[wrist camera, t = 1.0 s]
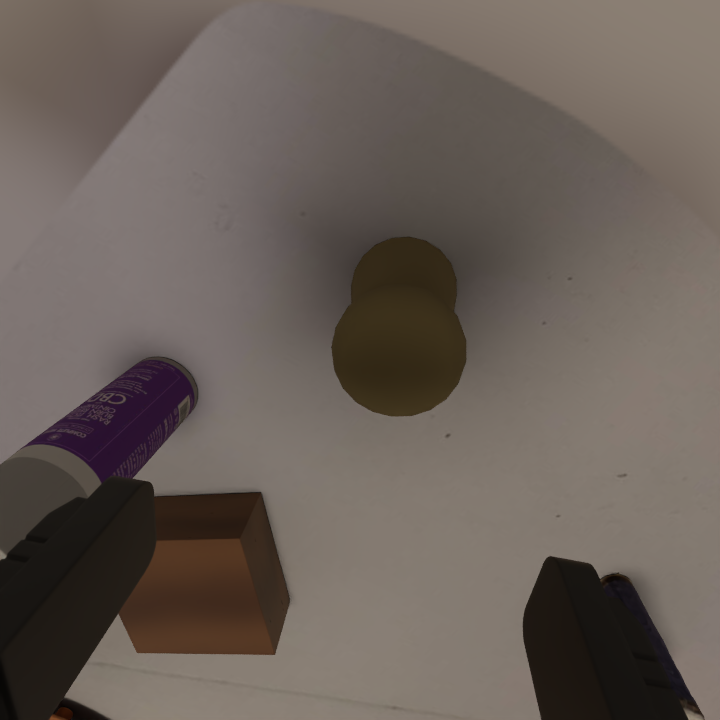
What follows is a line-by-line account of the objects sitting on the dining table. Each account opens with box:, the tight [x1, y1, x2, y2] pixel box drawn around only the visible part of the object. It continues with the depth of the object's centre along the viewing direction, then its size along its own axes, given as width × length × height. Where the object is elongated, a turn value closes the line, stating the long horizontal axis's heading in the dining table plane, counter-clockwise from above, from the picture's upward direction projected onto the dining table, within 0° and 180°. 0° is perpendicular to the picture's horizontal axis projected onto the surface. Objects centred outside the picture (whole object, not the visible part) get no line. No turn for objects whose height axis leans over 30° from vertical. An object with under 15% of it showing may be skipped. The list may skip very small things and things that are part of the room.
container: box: [0, 357, 198, 560], centre depth 24 cm, size 5×5×15 cm
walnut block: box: [118, 493, 290, 655], centre depth 34 cm, size 11×11×4 cm
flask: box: [600, 573, 705, 720], centre depth 30 cm, size 9×3×11 cm, turn 27°
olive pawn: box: [331, 237, 466, 416], centre depth 21 cm, size 6×6×11 cm
